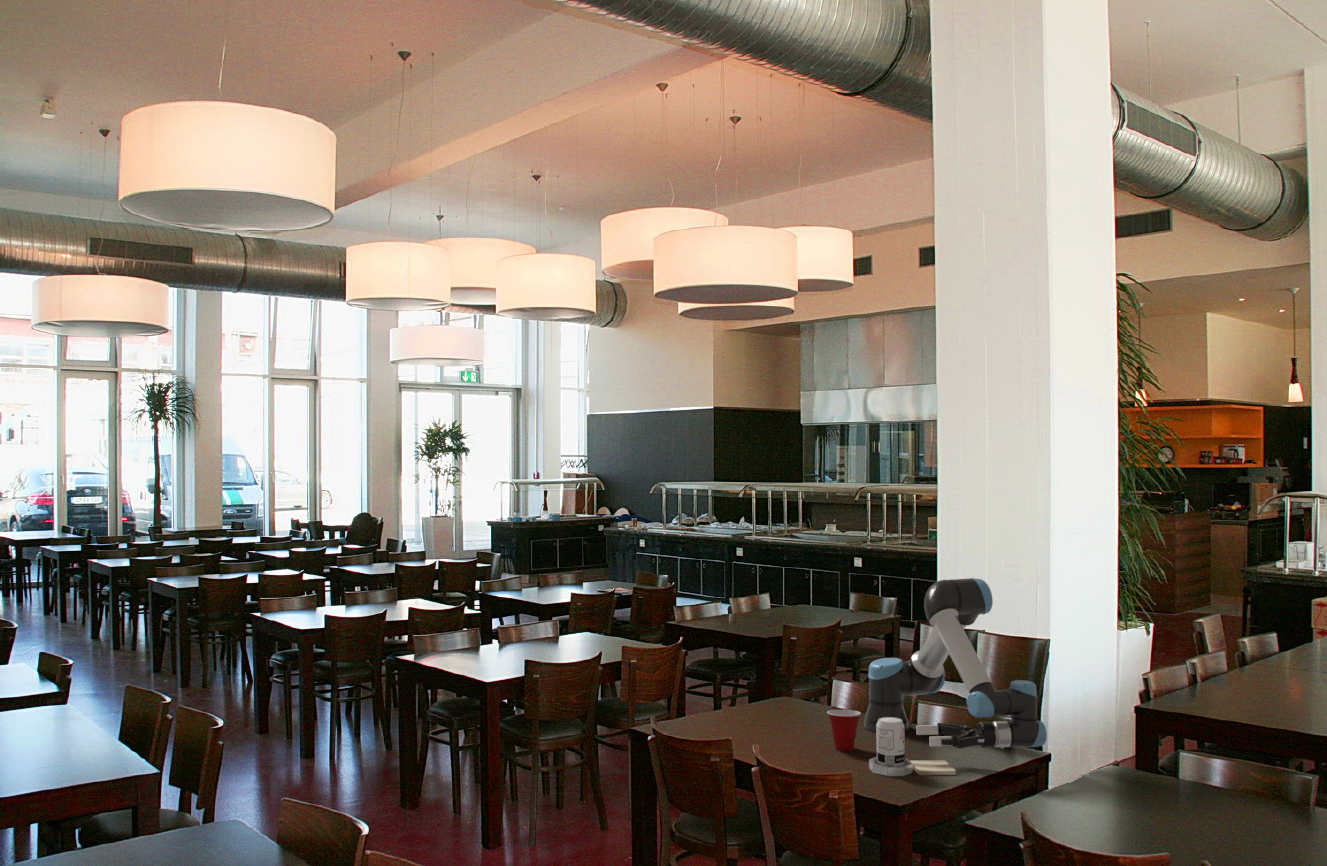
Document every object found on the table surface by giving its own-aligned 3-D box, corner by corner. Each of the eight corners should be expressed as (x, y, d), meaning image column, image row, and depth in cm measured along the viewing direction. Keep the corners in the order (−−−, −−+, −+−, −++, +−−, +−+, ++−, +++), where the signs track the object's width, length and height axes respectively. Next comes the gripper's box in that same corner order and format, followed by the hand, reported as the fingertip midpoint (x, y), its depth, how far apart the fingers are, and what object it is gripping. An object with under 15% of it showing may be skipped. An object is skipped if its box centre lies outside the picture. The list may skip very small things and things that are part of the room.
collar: (866, 764, 319) (866, 756, 319) (905, 763, 319) (905, 755, 319) (875, 776, 307) (875, 767, 307) (916, 775, 307) (916, 767, 307)
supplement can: (873, 766, 317) (873, 716, 317) (900, 765, 317) (899, 716, 318) (881, 774, 309) (880, 723, 309) (908, 773, 309) (908, 722, 310)
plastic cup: (859, 744, 341) (859, 707, 342) (862, 753, 331) (862, 715, 331) (826, 743, 342) (826, 706, 343) (828, 752, 332) (827, 714, 332)
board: (908, 764, 319) (908, 760, 319) (944, 763, 319) (944, 759, 319) (919, 775, 308) (919, 771, 308) (955, 774, 308) (955, 770, 308)
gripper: (1008, 758, 302) (935, 759, 301) (978, 736, 326) (911, 737, 326) (1007, 732, 302) (935, 733, 301) (978, 712, 327) (911, 713, 326)
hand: (922, 735), depth 313 cm, fingers open, 13 cm apart
